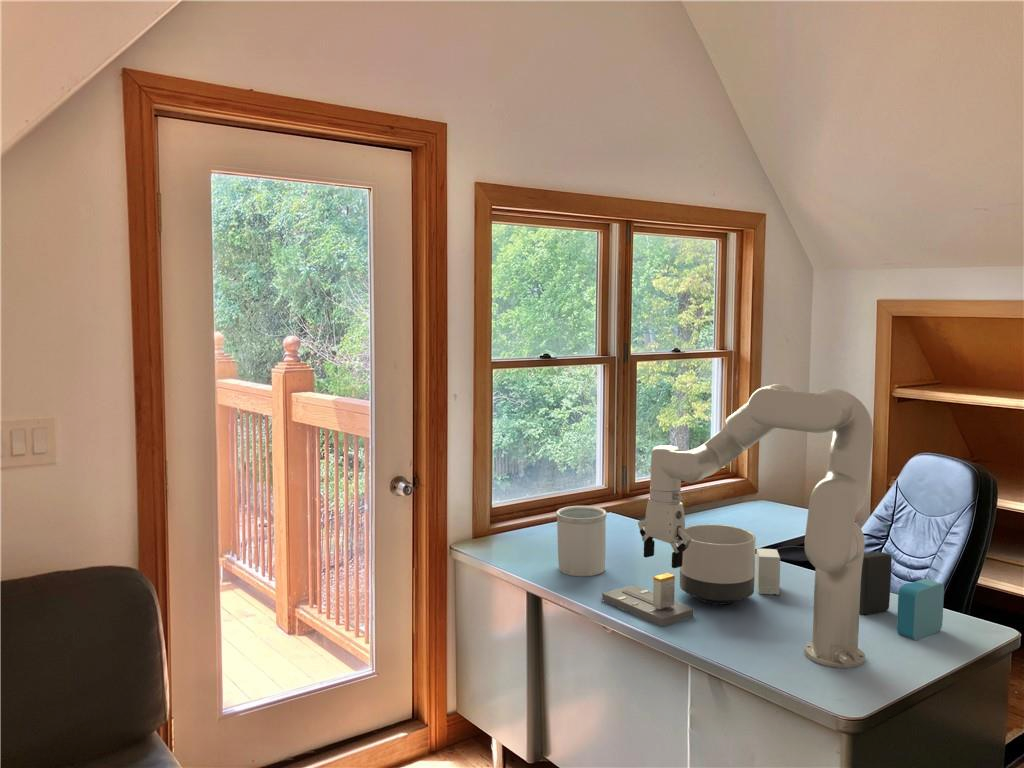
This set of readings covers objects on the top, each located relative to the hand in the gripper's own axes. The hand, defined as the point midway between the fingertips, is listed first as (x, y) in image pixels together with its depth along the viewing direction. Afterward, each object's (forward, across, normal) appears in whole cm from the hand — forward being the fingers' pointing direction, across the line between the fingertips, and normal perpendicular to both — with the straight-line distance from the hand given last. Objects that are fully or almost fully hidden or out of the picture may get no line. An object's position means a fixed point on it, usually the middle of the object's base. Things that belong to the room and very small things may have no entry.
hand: (662, 561), depth 210 cm
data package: (+13, -44, -42) cm, 62 cm away
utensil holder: (+15, +39, -7) cm, 42 cm away
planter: (+14, -1, -20) cm, 25 cm away
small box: (+14, -4, -37) cm, 40 cm away
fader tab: (+11, -1, 0) cm, 11 cm away
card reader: (+13, -30, -45) cm, 56 cm away
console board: (+14, +5, 0) cm, 15 cm away
